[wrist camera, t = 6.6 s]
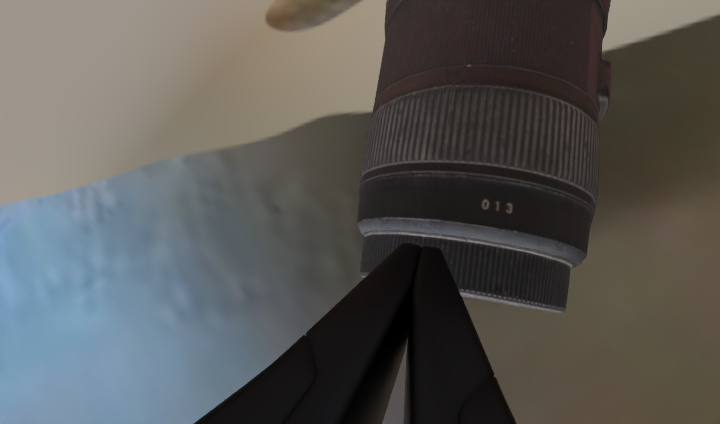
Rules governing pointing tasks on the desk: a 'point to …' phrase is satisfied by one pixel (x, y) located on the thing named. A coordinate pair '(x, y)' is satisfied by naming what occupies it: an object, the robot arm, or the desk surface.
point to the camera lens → (488, 142)
